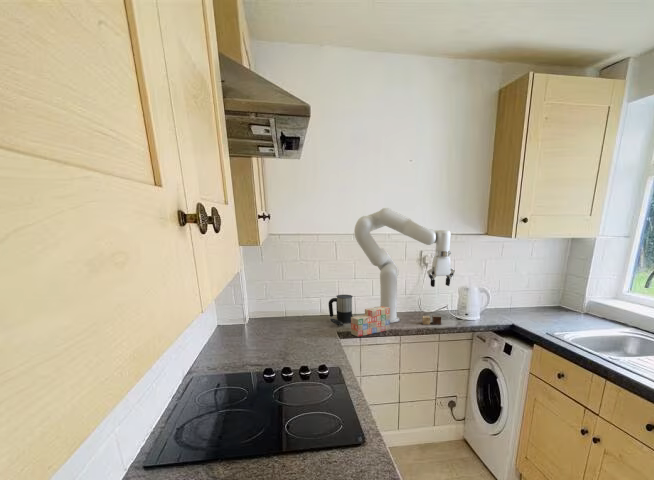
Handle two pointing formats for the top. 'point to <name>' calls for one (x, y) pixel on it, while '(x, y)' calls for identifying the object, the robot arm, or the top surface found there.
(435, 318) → the walnut block
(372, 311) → the stack of blocks
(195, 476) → the top surface
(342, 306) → the milk frother
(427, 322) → the birch block
